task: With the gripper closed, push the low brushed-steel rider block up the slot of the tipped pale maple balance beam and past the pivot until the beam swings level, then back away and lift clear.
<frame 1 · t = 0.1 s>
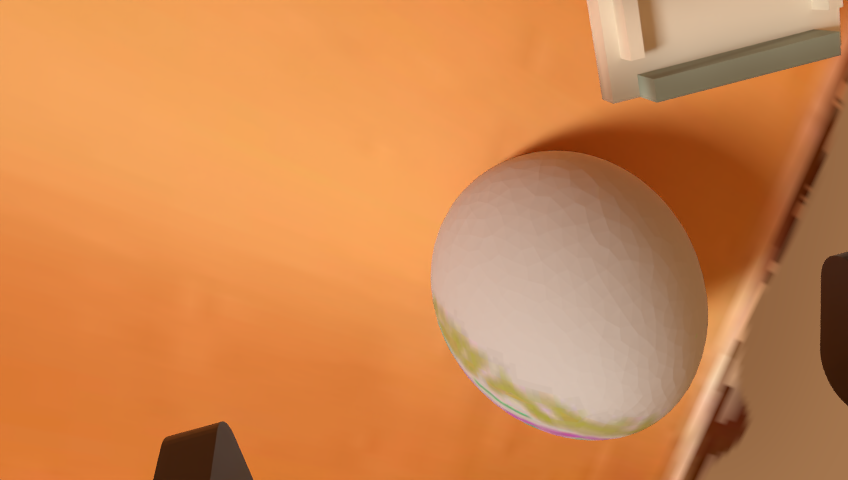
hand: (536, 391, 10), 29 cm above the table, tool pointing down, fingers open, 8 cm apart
decorative egg: (526, 231, 43), on the table
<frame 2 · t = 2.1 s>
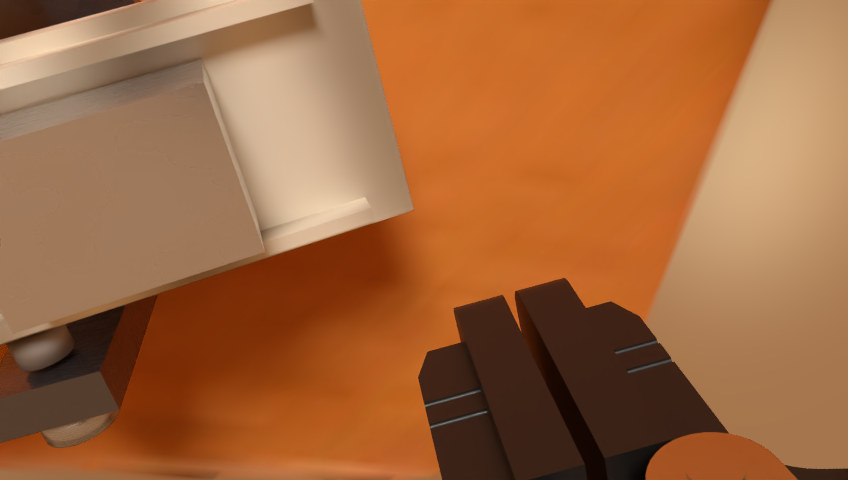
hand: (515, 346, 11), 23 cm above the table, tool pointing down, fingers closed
rider: (116, 170, 23), point 9 cm above the table, tilted 8°, touching beam
stand: (53, 122, 31), on the table
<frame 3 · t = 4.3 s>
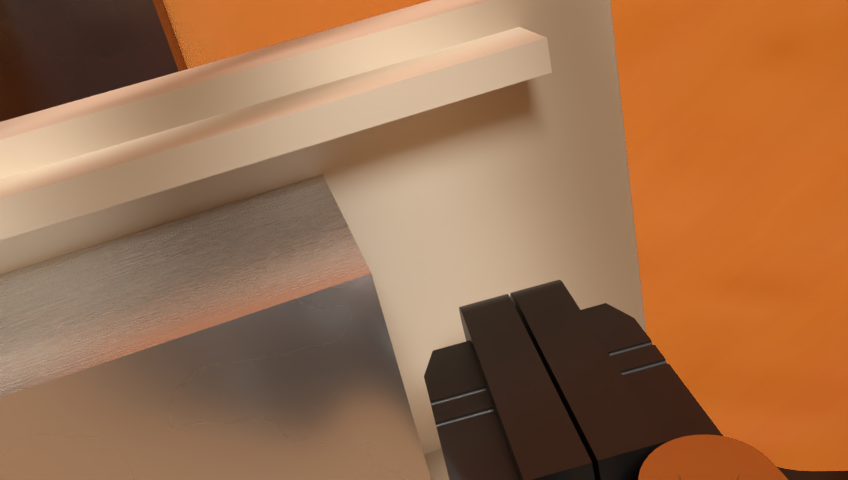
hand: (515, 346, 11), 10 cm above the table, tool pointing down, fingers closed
rider: (153, 383, 12), point 9 cm above the table, tilted 8°, touching beam, gripper
stand: (38, 225, 20), on the table
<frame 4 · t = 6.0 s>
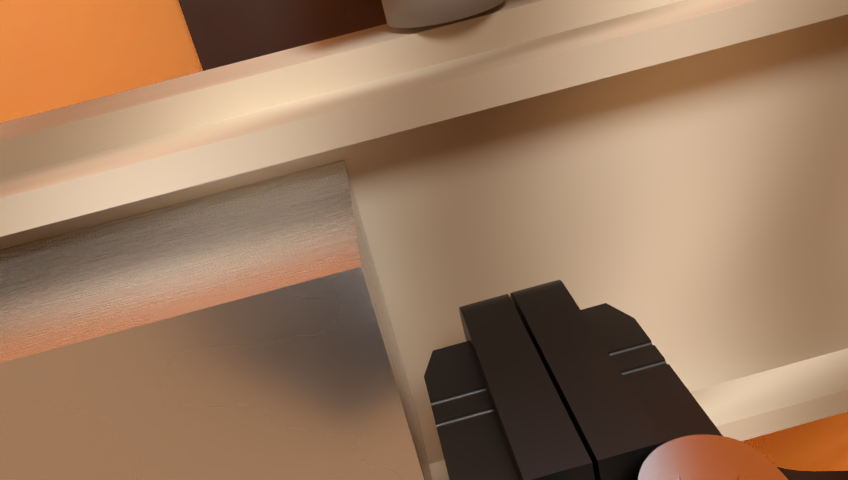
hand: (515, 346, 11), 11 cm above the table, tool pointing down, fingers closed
rider: (174, 356, 13), point 10 cm above the table, touching beam, gripper
beam: (507, 282, 13), point 10 cm above the table, hinge at 0.6°, touching rider
stand: (420, 118, 21), on the table
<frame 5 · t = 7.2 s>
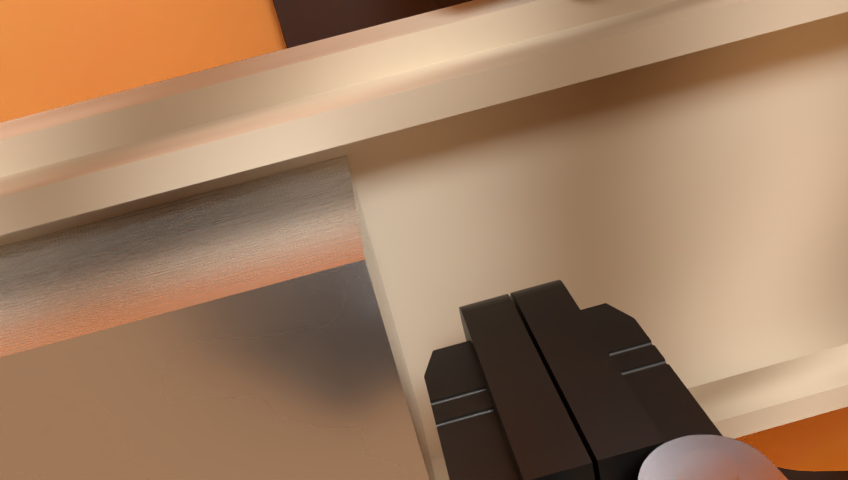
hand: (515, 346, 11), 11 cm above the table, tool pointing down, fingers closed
rider: (177, 352, 13), point 10 cm above the table, touching beam, gripper
beam: (629, 246, 13), point 10 cm above the table, hinge at 0.6°, touching rider
stand: (494, 98, 22), on the table
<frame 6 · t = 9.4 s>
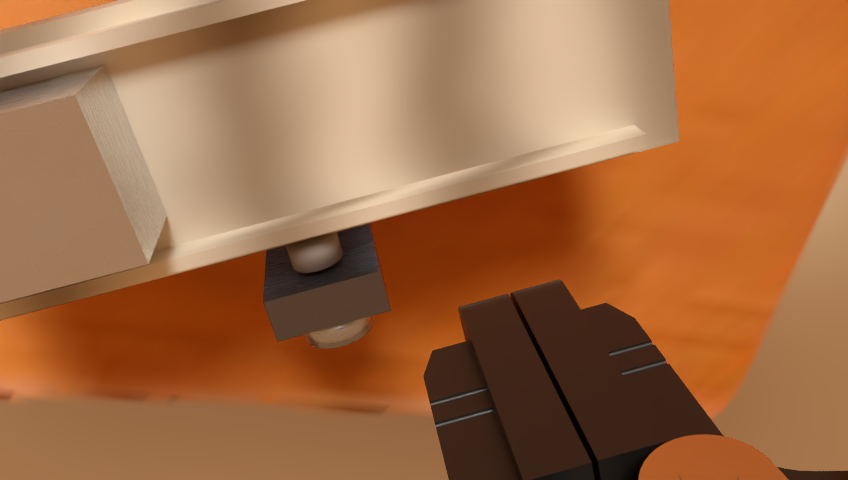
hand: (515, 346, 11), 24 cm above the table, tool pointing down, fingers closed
rider: (25, 171, 24), point 10 cm above the table, touching beam
beam: (270, 118, 24), point 10 cm above the table, hinge at 0.6°, touching rider
stand: (275, 54, 33), on the table
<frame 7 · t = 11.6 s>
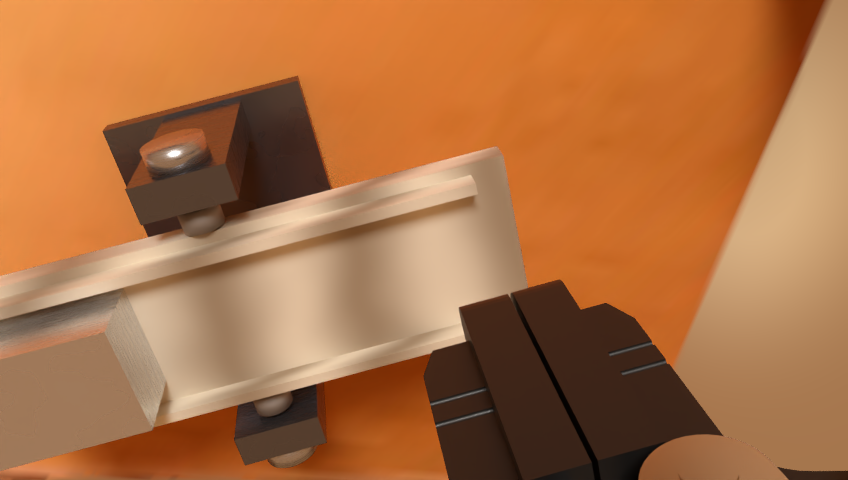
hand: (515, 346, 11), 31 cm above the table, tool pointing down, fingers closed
rider: (68, 356, 34), point 10 cm above the table, touching beam
beam: (237, 317, 35), point 10 cm above the table, hinge at 0.6°, touching rider
stand: (249, 228, 43), on the table
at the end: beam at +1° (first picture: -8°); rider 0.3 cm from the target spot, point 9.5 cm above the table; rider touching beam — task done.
